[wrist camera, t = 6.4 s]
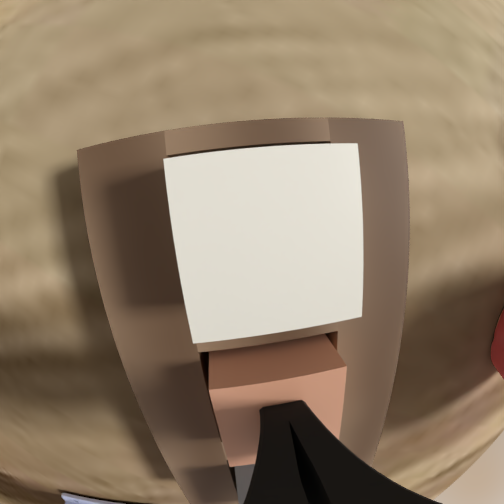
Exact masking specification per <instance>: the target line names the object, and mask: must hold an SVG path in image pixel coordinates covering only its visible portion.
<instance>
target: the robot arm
mask: <svg viewBox="0 0 504 504" xmlns="http://www.w3.org/2000/svg"><path fill="white" fill-rule="evenodd" d="M259 413H260V436H259V444H258V450H257V456H256V462H255V466H254V470H253V474H252V478H251V482H250V485H249V489H248V492H247V495H246V498H245V501H244V503H243V504H442V503H439V502H436V501H433V500H431V499H428V498H426V497H424V496H422V495H419V494H417V493H415V492H413V491H410V490H408V489H406V488H404V487H402V486H401V485H399V484H397V483H395V482H394V481H392V480H390V479H388V478H387V477H385V476H384V475H382V474H381V473H379V472H378V471H376V470H375V469H373V468H372V467H370V466H369V465H368V464H366V463H365V462H364V461H363V460H361V459H360V458H359V457H358V456H356V455H355V454H354V453H353V452H352V451H350V450H349V449H348V448H347V447H346V446H345V445H344V444H343V443H342V442H341V441H339V440H338V439H337V438H336V437H335V436H334V435H333V434H332V433H331V432H330V431H329V430H328V429H327V428H326V427H325V425H324V424H323V423H322V422H321V421H320V420H319V419H318V418H317V416H316V415H315V414H314V413H313V412H312V410H311V409H310V408H309V406H308V405H307V404H306V402H304V401H303V400H299V401H294V402H289V403H283V404H278V405H272V406H266V407H262V408H261V409H260V410H259ZM61 497H62V498H63V499H64V500H65V504H124V503H116V502H109V501H103V500H97V499H91V498H86V497H81V496H76V495H72V494H68V493H62V495H61Z"/></svg>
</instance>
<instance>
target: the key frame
mask: <svg viewBox="0 0 504 504" xmlns="http://www.w3.org/2000/svg"><path fill="white" fill-rule="evenodd" d="M334 143H358V153H359V164H360V176H361V192H362V212H363V301H362V317H358V318H353V319H349V320H344V321H339V322H334V323H329V324H324V325H319V326H313V327H308V328H302V329H297V330H291V331H285V332H278V333H272V334H266V335H259V336H252V337H245V338H237V339H230V340H221V341H213V342H204V343H194V344H193V341H192V336H191V331H190V327H189V322H188V317H187V312H186V307H185V302H184V297H183V291H182V286H181V280H180V275H179V269H178V263H177V257H176V251H175V245H174V239H173V232H172V225H171V218H170V211H169V203H168V196H167V188H166V179H165V170H164V161H163V159H165V158H172V157H178V156H185V155H192V154H200V153H207V152H216V151H224V150H234V149H244V148H255V147H268V146H283V145H302V144H334ZM77 155H78V167H79V177H80V186H81V194H82V201H83V208H84V215H85V221H86V227H87V233H88V238H89V244H90V249H91V254H92V258H93V263H94V267H95V272H96V276H97V280H98V284H99V288H100V292H101V296H102V300H103V304H104V307H105V311H106V314H107V318H108V321H109V324H110V328H111V331H112V334H113V337H114V340H115V343H116V346H117V349H118V352H119V355H120V358H121V361H122V364H123V366H124V369H125V372H126V375H127V377H128V380H129V382H130V385H131V388H132V390H133V393H134V395H135V397H136V400H137V402H138V405H139V407H140V409H141V412H142V414H143V416H144V418H145V421H146V423H147V425H148V427H149V429H150V431H151V434H152V436H153V438H154V440H155V442H156V444H157V446H158V448H159V450H160V452H161V454H162V456H163V458H164V460H165V461H166V463H167V465H168V467H169V469H170V471H171V472H172V474H173V476H174V478H175V480H176V481H177V483H178V485H179V487H180V488H181V490H182V492H183V493H184V495H185V497H186V498H187V500H188V501H189V503H190V504H239V503H238V494H237V485H236V476H235V466H233V467H230V466H229V463H228V460H227V456H226V453H225V449H224V446H223V442H222V439H221V435H220V432H219V428H218V424H217V421H216V417H215V413H214V409H213V405H212V401H211V397H210V393H209V355H208V351H216V350H224V349H232V348H240V347H247V346H254V345H261V344H268V343H274V342H280V341H286V340H292V339H298V338H303V337H309V336H314V335H319V334H324V333H325V334H326V336H327V337H328V339H329V340H330V342H331V343H332V345H333V346H334V348H335V349H336V351H337V352H338V354H339V355H340V356H341V358H342V359H343V361H344V362H345V364H346V365H347V372H346V384H345V394H344V404H343V412H342V421H341V428H340V435H339V441H341V442H342V443H343V444H344V445H345V446H346V447H347V448H348V449H349V450H350V451H352V452H353V453H354V454H355V455H356V456H358V457H359V458H360V459H361V460H363V461H364V462H365V463H366V464H368V465H369V466H370V467H371V466H372V463H373V460H374V457H375V454H376V451H377V447H378V444H379V441H380V437H381V434H382V430H383V426H384V422H385V419H386V415H387V411H388V406H389V402H390V398H391V393H392V389H393V384H394V379H395V374H396V369H397V363H398V357H399V351H400V345H401V338H402V331H403V323H404V315H405V305H406V295H407V282H408V267H409V240H410V206H409V179H408V164H407V152H406V141H405V132H404V124H403V121H393V120H379V119H361V118H283V119H264V120H249V121H237V122H227V123H217V124H209V125H201V126H193V127H186V128H179V129H173V130H167V131H161V132H155V133H149V134H144V135H139V136H134V137H129V138H124V139H120V140H115V141H111V142H107V143H102V144H98V145H94V146H90V147H86V148H83V149H79V150H77Z"/></svg>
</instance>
